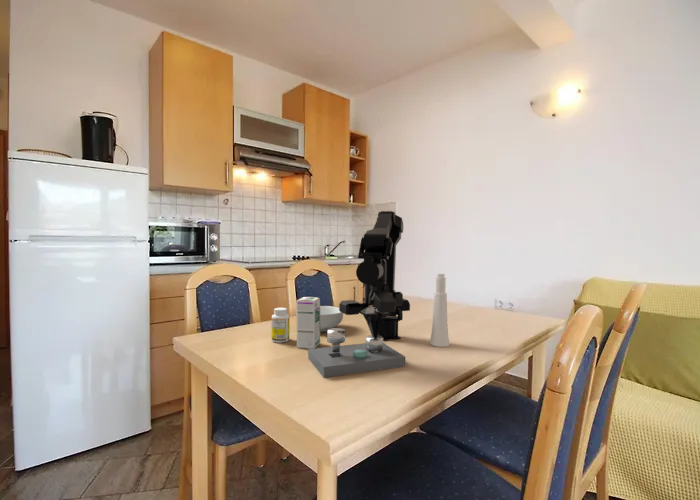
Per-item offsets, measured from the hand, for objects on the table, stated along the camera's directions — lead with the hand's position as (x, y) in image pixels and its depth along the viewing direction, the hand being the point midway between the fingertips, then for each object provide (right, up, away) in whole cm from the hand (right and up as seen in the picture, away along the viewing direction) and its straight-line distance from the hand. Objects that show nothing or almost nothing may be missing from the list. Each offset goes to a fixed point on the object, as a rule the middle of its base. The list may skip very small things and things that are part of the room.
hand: (374, 337), depth 95 cm
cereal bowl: (-18, -5, +32) cm, 37 cm away
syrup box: (-19, -6, +12) cm, 23 cm away
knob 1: (-10, -4, -4) cm, 12 cm away
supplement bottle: (-29, -5, +17) cm, 34 cm away
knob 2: (0, -7, 0) cm, 6 cm away
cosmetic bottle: (+21, -6, +15) cm, 27 cm away
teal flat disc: (-4, -4, -5) cm, 7 cm away
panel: (-5, -6, -2) cm, 8 cm away
